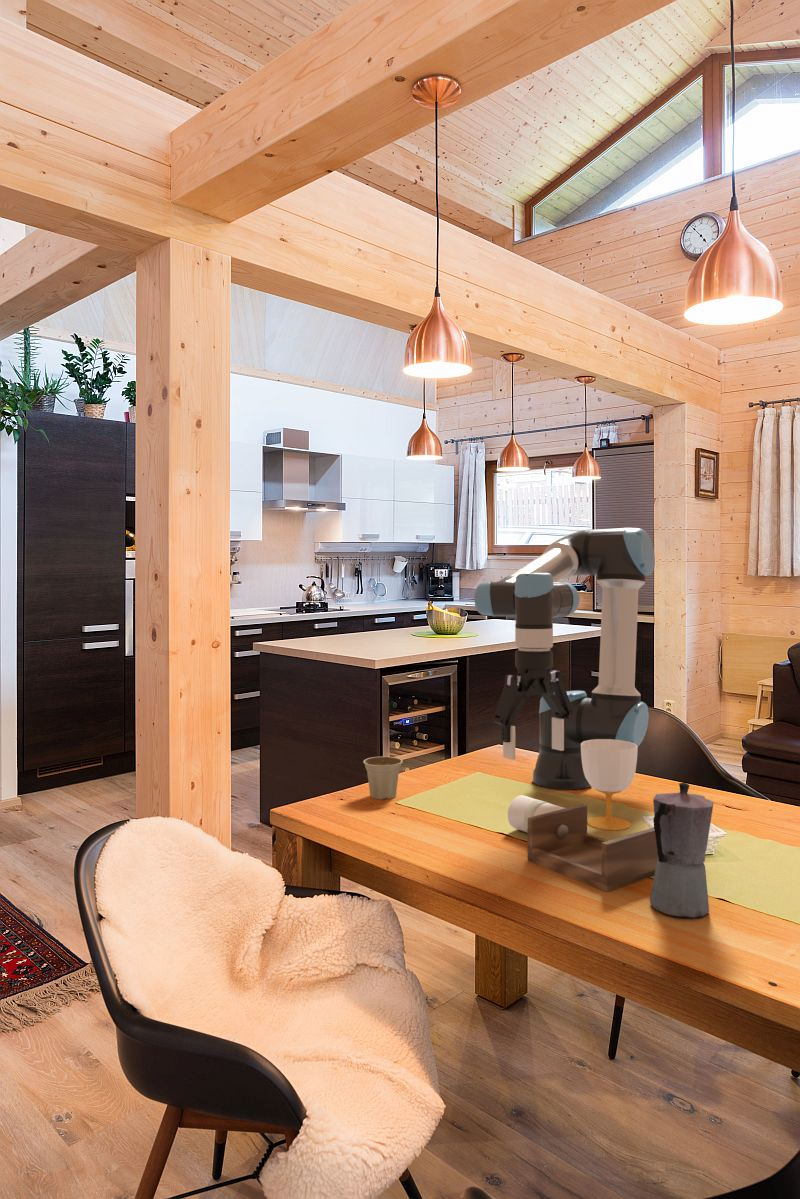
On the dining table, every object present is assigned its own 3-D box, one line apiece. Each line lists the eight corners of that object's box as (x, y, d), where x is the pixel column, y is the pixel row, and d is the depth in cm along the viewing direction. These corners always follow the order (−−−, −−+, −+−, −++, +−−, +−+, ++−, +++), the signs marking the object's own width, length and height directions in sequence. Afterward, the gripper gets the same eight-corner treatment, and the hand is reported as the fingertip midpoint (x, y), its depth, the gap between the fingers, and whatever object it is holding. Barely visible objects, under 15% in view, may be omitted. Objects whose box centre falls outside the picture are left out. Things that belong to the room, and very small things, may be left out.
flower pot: (399, 802, 192) (399, 766, 191) (360, 801, 193) (359, 764, 193) (405, 792, 201) (405, 757, 201) (367, 790, 202) (367, 756, 202)
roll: (504, 828, 169) (509, 794, 170) (529, 828, 173) (533, 795, 174) (548, 844, 159) (553, 808, 159) (573, 844, 163) (577, 808, 164)
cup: (624, 836, 166) (624, 752, 165) (571, 825, 173) (571, 745, 172) (645, 822, 175) (646, 743, 175) (594, 812, 182) (594, 736, 182)
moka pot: (727, 902, 132) (728, 780, 132) (689, 934, 121) (689, 800, 120) (670, 888, 139) (671, 770, 138) (629, 916, 127) (629, 789, 127)
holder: (527, 860, 152) (527, 817, 152) (582, 844, 161) (582, 804, 161) (607, 891, 137) (607, 844, 137) (663, 872, 146) (663, 827, 146)
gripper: (563, 644, 175) (563, 743, 176) (474, 651, 161) (475, 758, 162) (590, 647, 169) (590, 749, 170) (500, 654, 155) (500, 765, 155)
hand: (534, 753), depth 166 cm, fingers open, 13 cm apart
